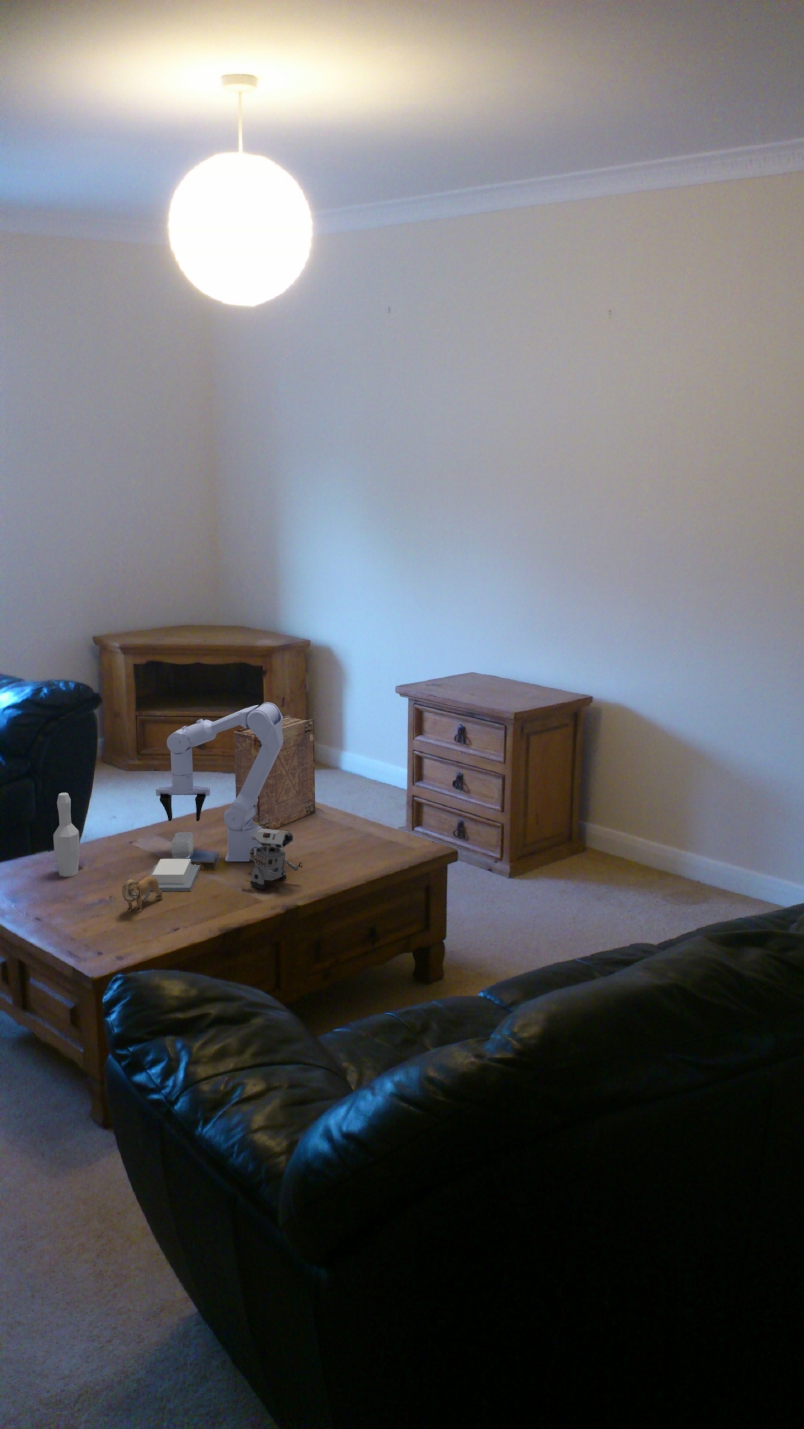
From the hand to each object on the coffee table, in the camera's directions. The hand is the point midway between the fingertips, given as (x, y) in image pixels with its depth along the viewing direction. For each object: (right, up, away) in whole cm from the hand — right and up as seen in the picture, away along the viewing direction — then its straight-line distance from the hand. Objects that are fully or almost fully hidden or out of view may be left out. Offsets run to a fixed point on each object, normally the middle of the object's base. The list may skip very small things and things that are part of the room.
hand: (184, 819), depth 303 cm
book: (+22, -3, +28) cm, 36 cm away
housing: (0, -10, -1) cm, 10 cm away
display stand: (0, -14, -17) cm, 22 cm away
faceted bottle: (-28, -13, -14) cm, 34 cm away
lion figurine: (-3, -18, -34) cm, 39 cm away
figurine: (+27, -15, -20) cm, 37 cm away
